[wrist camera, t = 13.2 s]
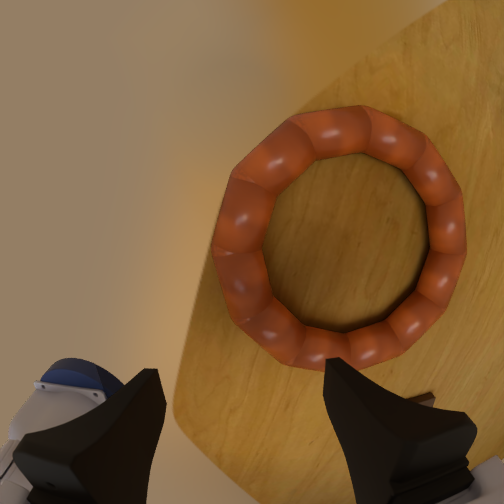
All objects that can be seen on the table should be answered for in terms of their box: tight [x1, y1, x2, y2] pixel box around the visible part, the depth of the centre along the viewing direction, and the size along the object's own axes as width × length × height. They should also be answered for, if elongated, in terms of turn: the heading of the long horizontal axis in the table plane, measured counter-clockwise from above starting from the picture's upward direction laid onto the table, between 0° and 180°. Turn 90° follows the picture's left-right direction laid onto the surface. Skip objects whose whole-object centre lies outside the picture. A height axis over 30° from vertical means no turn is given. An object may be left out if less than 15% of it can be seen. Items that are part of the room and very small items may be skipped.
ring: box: [211, 105, 467, 372], centre depth 19 cm, size 18×18×3 cm
